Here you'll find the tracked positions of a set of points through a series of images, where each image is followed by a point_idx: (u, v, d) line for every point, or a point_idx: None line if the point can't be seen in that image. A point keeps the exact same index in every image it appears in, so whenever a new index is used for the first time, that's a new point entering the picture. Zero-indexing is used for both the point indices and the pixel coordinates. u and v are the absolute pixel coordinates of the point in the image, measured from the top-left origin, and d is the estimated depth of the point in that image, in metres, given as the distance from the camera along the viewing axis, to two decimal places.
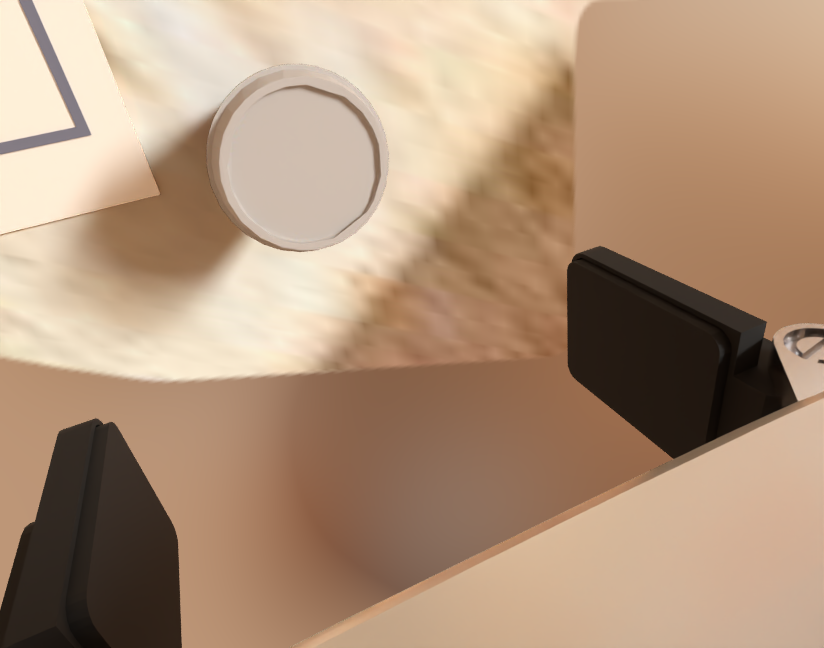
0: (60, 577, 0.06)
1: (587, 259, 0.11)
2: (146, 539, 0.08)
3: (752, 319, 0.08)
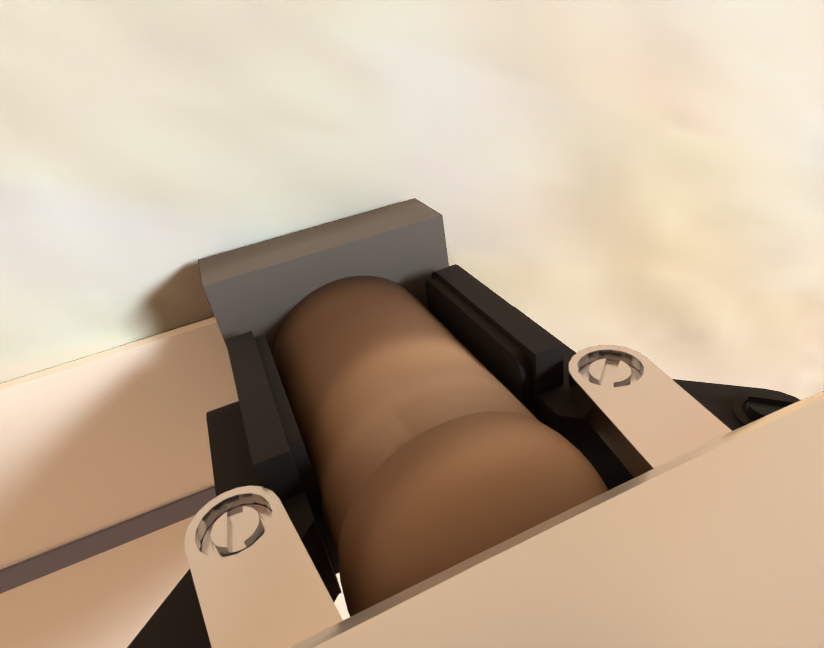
0: (276, 425, 0.08)
1: (439, 277, 0.11)
2: None
3: (552, 341, 0.09)
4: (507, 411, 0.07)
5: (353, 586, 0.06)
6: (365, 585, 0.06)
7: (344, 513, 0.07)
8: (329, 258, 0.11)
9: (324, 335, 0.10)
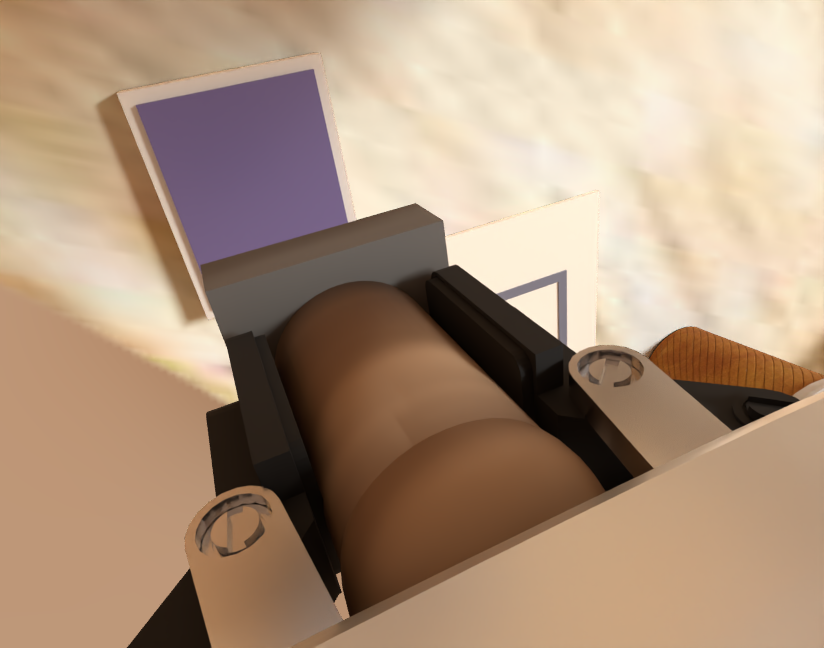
0: (276, 425, 0.08)
1: (439, 277, 0.11)
2: None
3: (552, 341, 0.09)
4: (508, 418, 0.07)
5: (355, 593, 0.06)
6: (367, 592, 0.06)
7: (346, 519, 0.07)
8: (330, 264, 0.11)
9: (326, 341, 0.10)
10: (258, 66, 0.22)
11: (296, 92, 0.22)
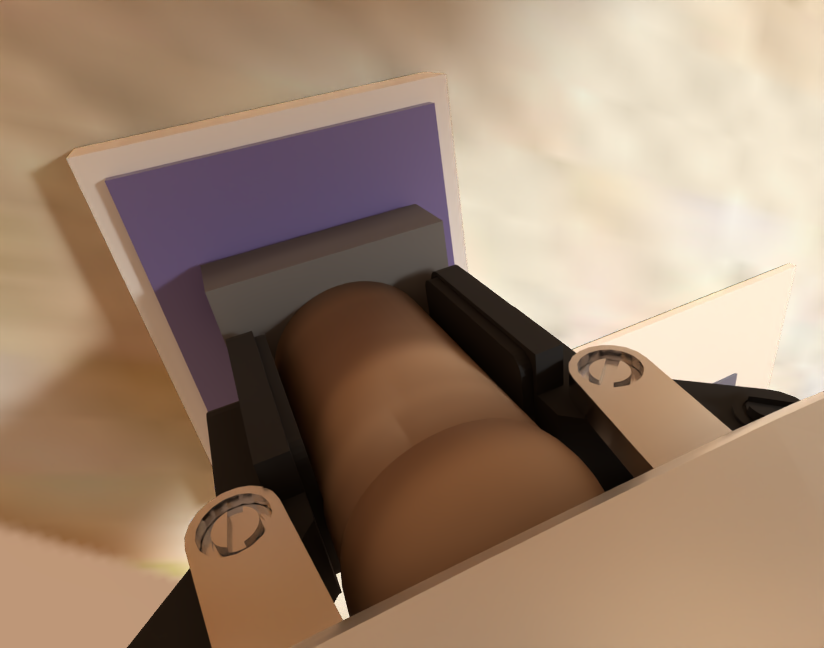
0: (276, 425, 0.08)
1: (439, 277, 0.11)
2: None
3: (552, 341, 0.09)
4: (507, 418, 0.07)
5: (354, 592, 0.06)
6: (367, 591, 0.06)
7: (346, 519, 0.07)
8: (330, 264, 0.11)
9: (326, 341, 0.10)
10: (337, 99, 0.12)
11: (402, 144, 0.12)
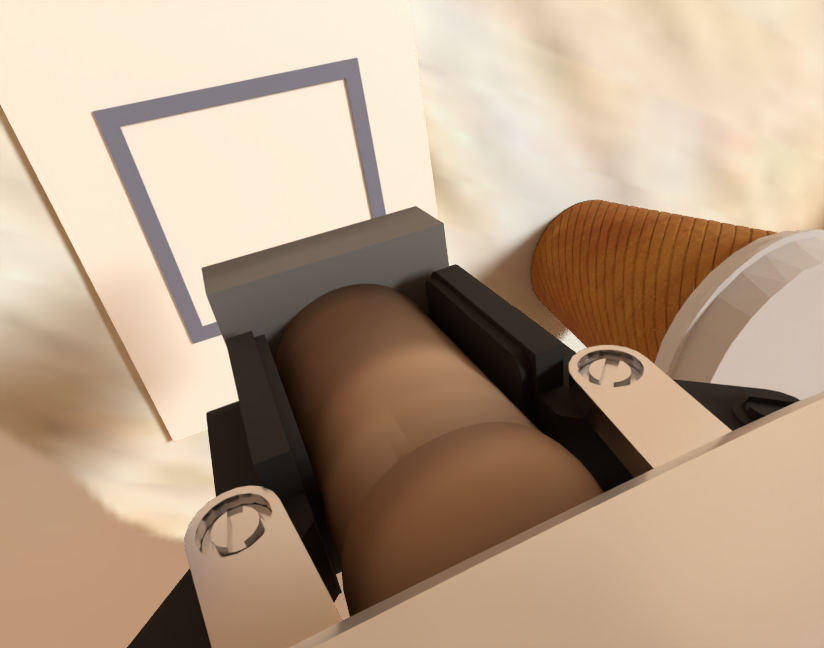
0: (276, 425, 0.08)
1: (439, 277, 0.11)
2: None
3: (552, 341, 0.09)
4: (508, 422, 0.07)
5: (355, 596, 0.06)
6: (368, 595, 0.06)
7: (347, 523, 0.07)
8: (331, 266, 0.11)
9: (327, 344, 0.10)
10: None
11: None
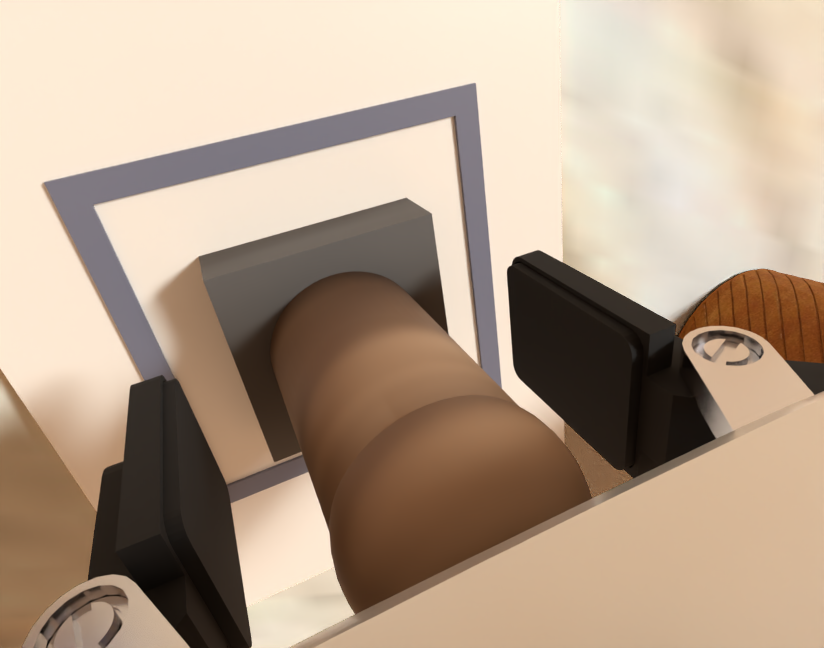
0: (155, 498, 0.07)
1: (524, 263, 0.11)
2: (209, 483, 0.09)
3: (663, 321, 0.09)
4: (487, 395, 0.08)
5: (342, 554, 0.07)
6: (353, 552, 0.07)
7: (334, 489, 0.08)
8: (323, 255, 0.11)
9: (318, 327, 0.10)
10: None
11: None
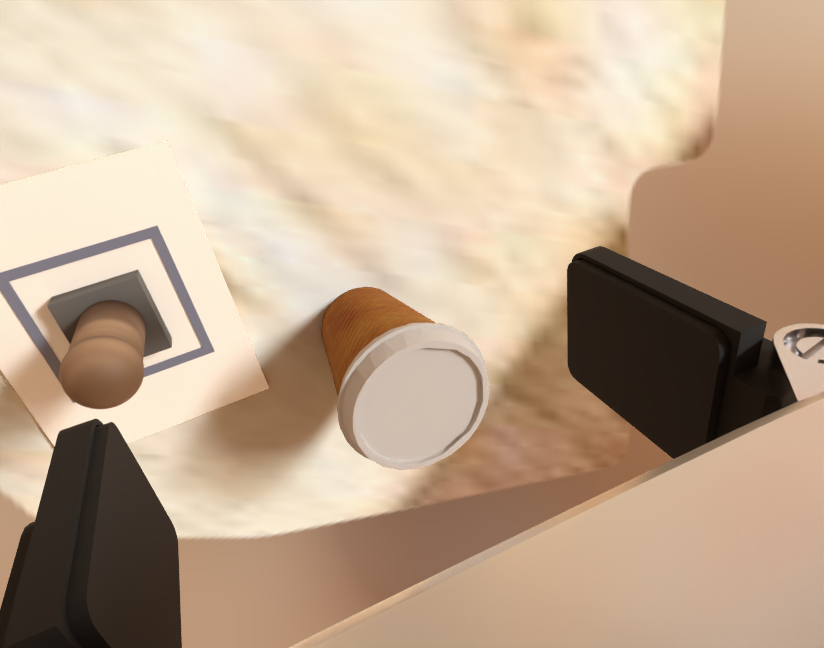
0: (60, 577, 0.06)
1: (587, 259, 0.11)
2: (146, 539, 0.08)
3: (752, 319, 0.08)
4: (108, 335, 0.28)
5: (59, 375, 0.27)
6: (59, 373, 0.27)
7: None
8: (93, 295, 0.32)
9: (82, 320, 0.30)
10: None
11: None
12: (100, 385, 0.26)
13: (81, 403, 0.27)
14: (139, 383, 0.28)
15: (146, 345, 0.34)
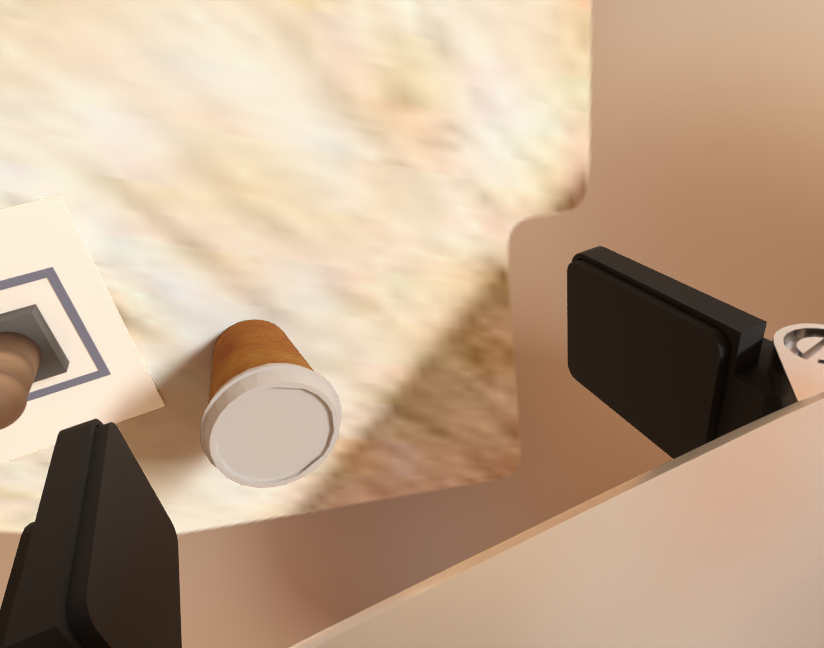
0: (60, 577, 0.06)
1: (587, 259, 0.11)
2: (146, 539, 0.08)
3: (752, 319, 0.08)
4: None
5: None
6: None
7: None
8: None
9: None
10: None
11: None
12: None
13: None
14: (20, 410, 0.33)
15: (42, 370, 0.38)
